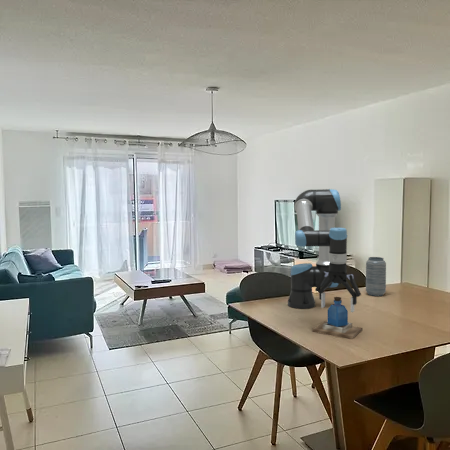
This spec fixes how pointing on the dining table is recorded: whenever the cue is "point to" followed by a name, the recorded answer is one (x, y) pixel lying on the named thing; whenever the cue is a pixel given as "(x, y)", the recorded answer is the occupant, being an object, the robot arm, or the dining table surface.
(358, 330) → the brown board with frame
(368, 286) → the vase
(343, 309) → the perfume bottle
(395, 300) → the dining table surface
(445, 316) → the dining table surface
